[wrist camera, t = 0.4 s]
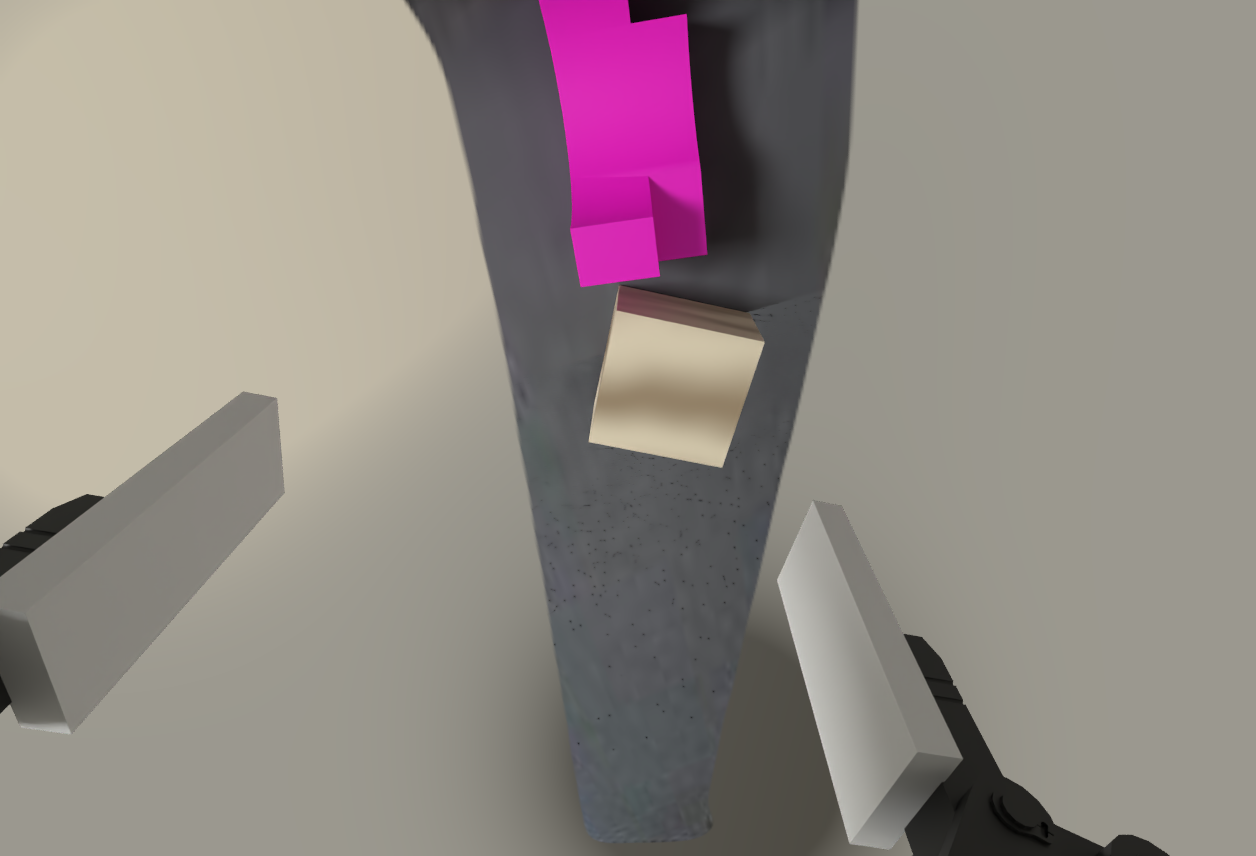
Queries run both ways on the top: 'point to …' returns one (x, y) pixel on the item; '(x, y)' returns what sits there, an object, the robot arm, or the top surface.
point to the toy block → (627, 138)
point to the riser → (674, 376)
